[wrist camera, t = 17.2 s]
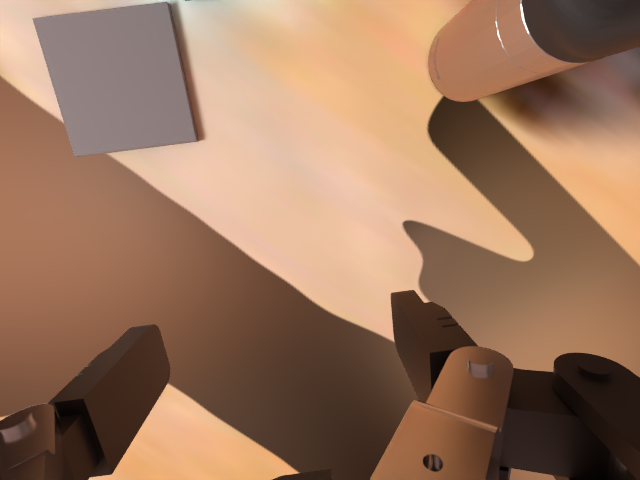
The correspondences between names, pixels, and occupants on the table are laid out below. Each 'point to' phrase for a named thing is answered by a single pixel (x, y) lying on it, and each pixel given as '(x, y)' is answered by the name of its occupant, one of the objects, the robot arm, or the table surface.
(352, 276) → the table surface
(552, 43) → the robot arm
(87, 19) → the mat
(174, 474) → the table surface
